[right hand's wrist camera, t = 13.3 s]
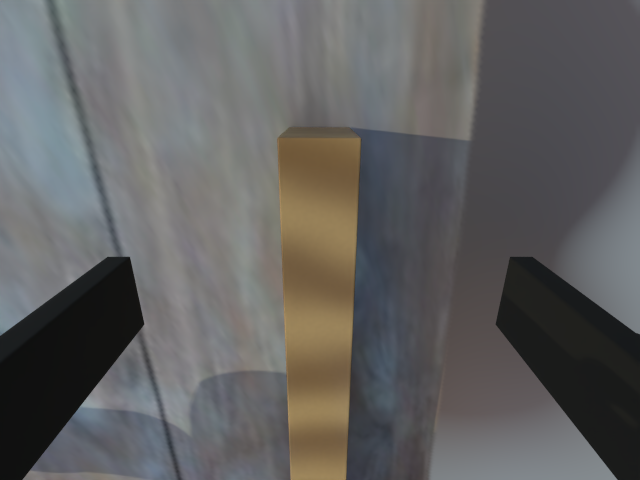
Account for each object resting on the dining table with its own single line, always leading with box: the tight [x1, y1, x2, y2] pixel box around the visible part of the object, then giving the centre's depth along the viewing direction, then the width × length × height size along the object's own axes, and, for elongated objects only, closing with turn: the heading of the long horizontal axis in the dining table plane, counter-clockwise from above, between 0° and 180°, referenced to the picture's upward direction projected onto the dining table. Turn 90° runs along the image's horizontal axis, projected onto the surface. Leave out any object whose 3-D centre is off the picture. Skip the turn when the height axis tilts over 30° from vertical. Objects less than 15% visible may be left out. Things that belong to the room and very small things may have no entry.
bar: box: [277, 127, 361, 480], centre depth 38 cm, size 69×5×9 cm, turn 0°
